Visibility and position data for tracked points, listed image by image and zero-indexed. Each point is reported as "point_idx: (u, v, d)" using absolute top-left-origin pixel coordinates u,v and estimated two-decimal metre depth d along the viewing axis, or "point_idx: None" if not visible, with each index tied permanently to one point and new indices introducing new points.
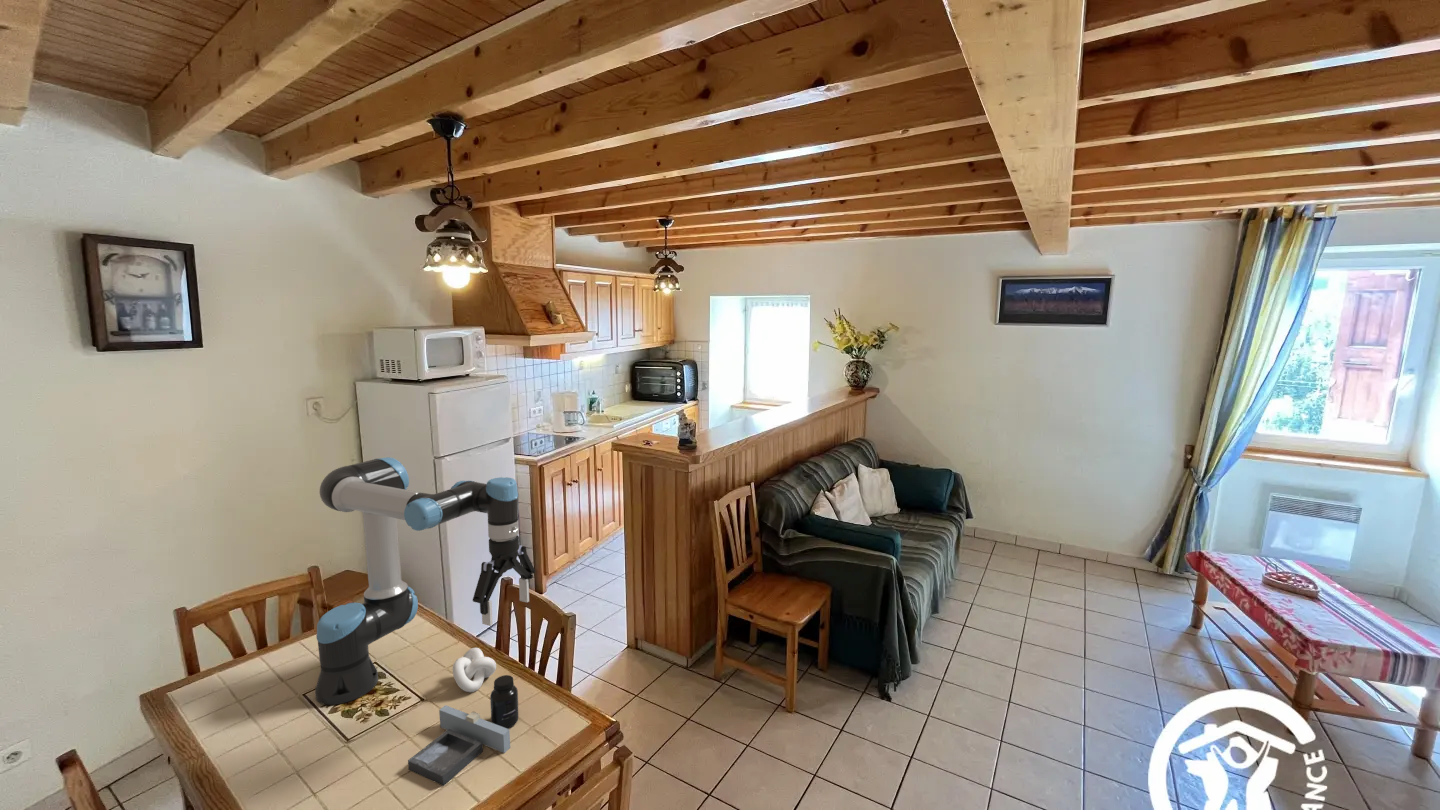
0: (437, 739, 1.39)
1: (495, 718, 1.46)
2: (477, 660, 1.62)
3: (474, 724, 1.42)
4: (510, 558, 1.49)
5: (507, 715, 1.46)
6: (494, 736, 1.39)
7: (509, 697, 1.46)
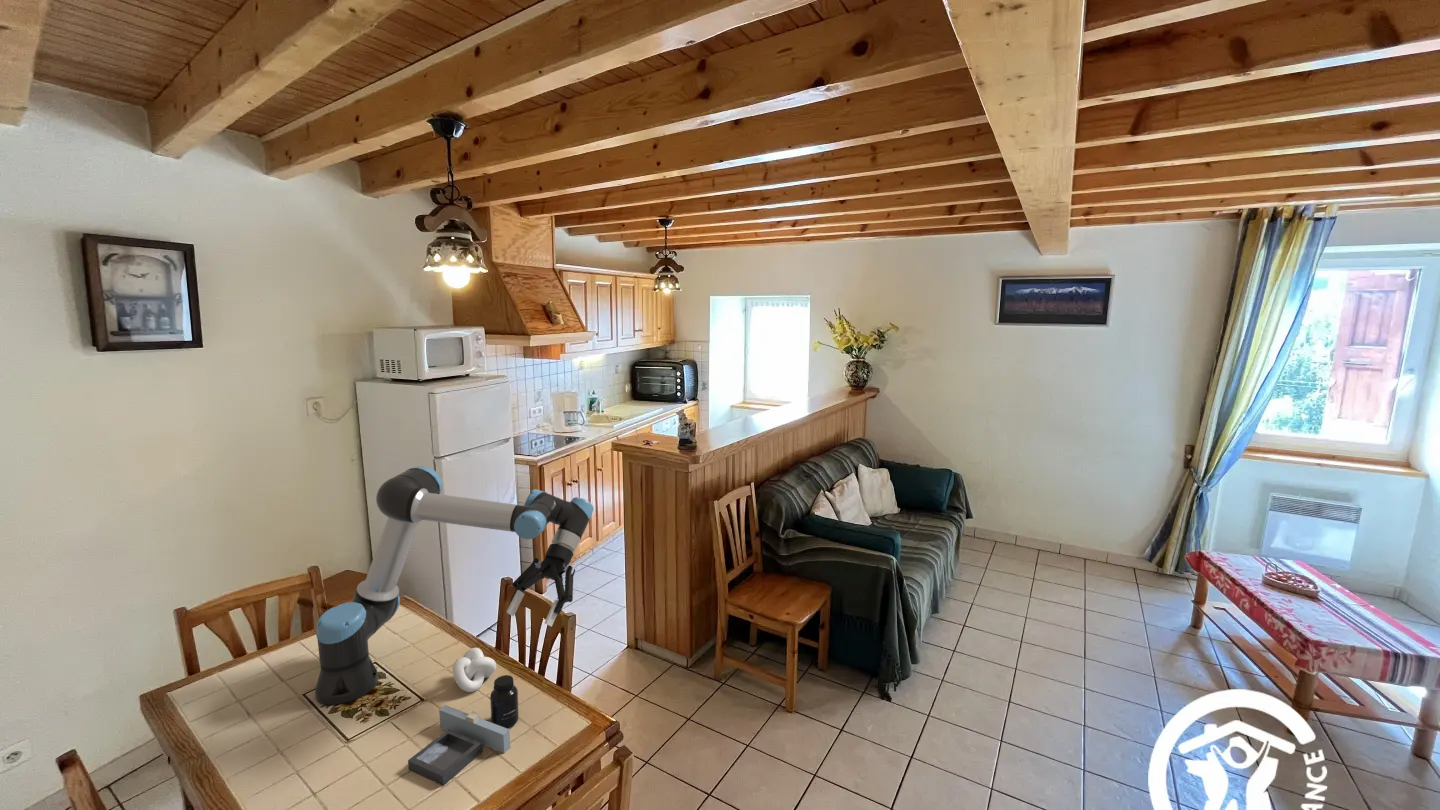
0: (437, 739, 1.39)
1: (495, 718, 1.46)
2: (477, 660, 1.62)
3: (474, 724, 1.42)
4: None
5: (507, 715, 1.46)
6: (494, 736, 1.39)
7: (509, 697, 1.46)
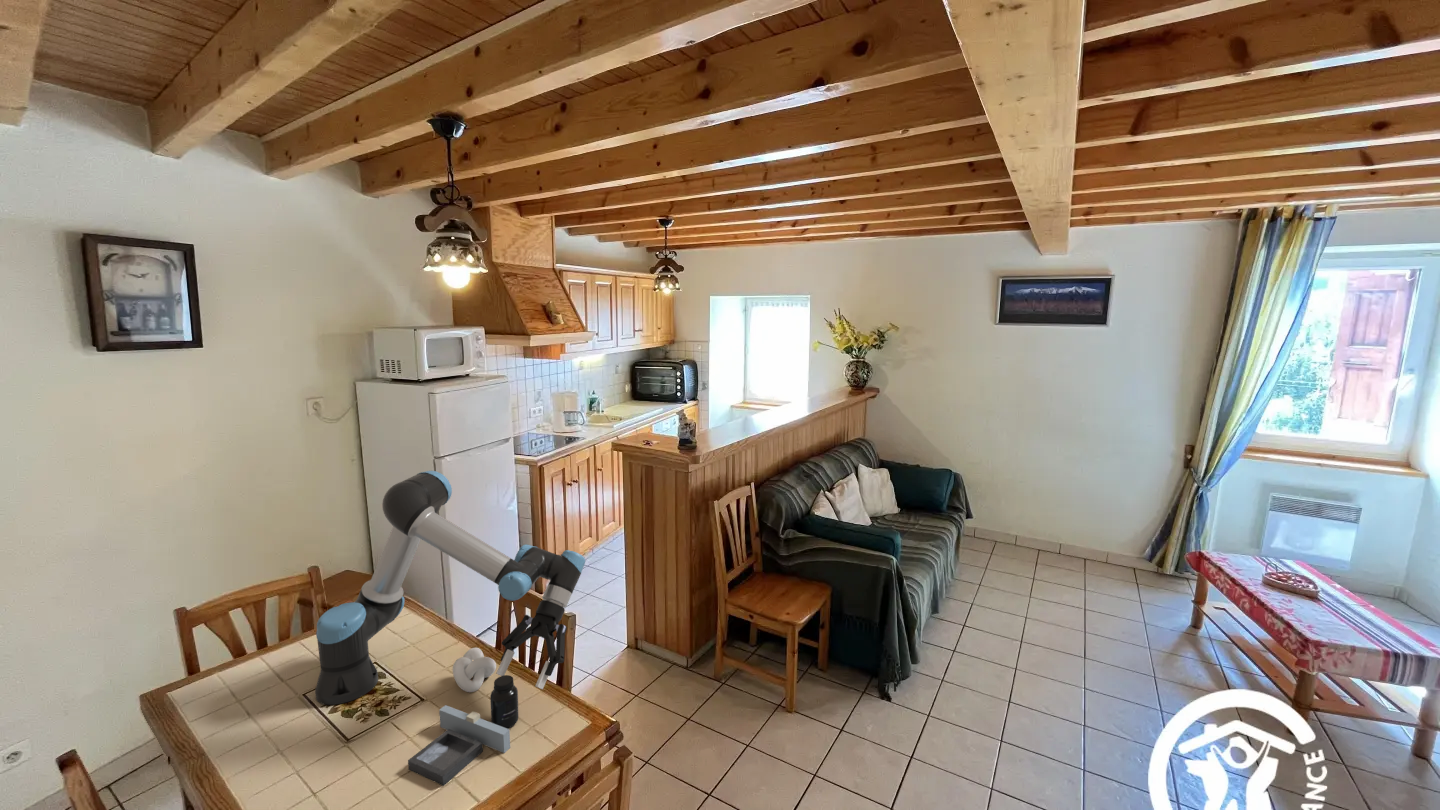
0: (437, 739, 1.39)
1: (495, 718, 1.46)
2: (477, 660, 1.62)
3: (474, 724, 1.42)
4: None
5: (507, 715, 1.46)
6: (494, 736, 1.39)
7: (509, 697, 1.46)
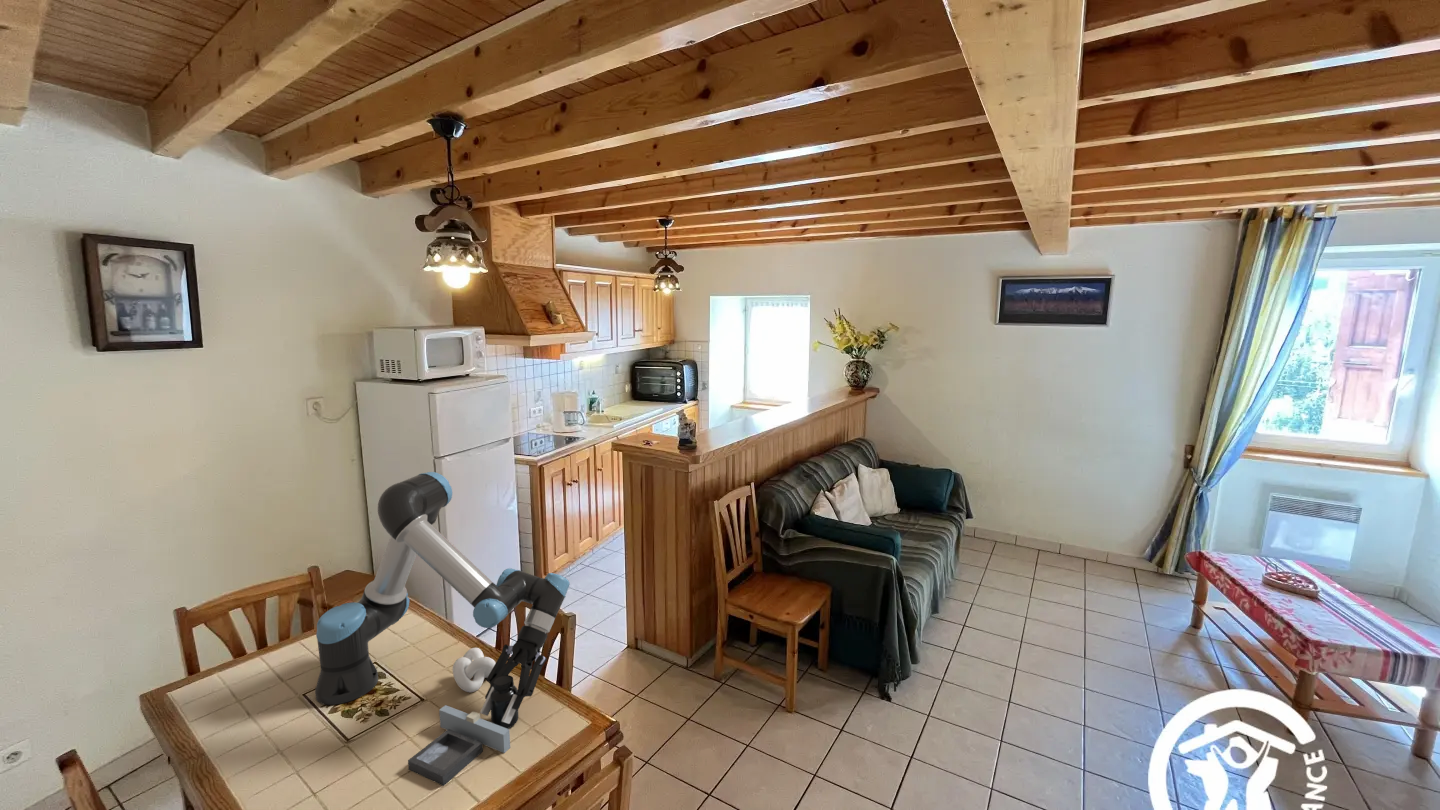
0: (437, 739, 1.39)
1: (495, 718, 1.46)
2: (477, 660, 1.62)
3: (474, 724, 1.42)
4: None
5: None
6: (494, 736, 1.39)
7: (509, 697, 1.46)
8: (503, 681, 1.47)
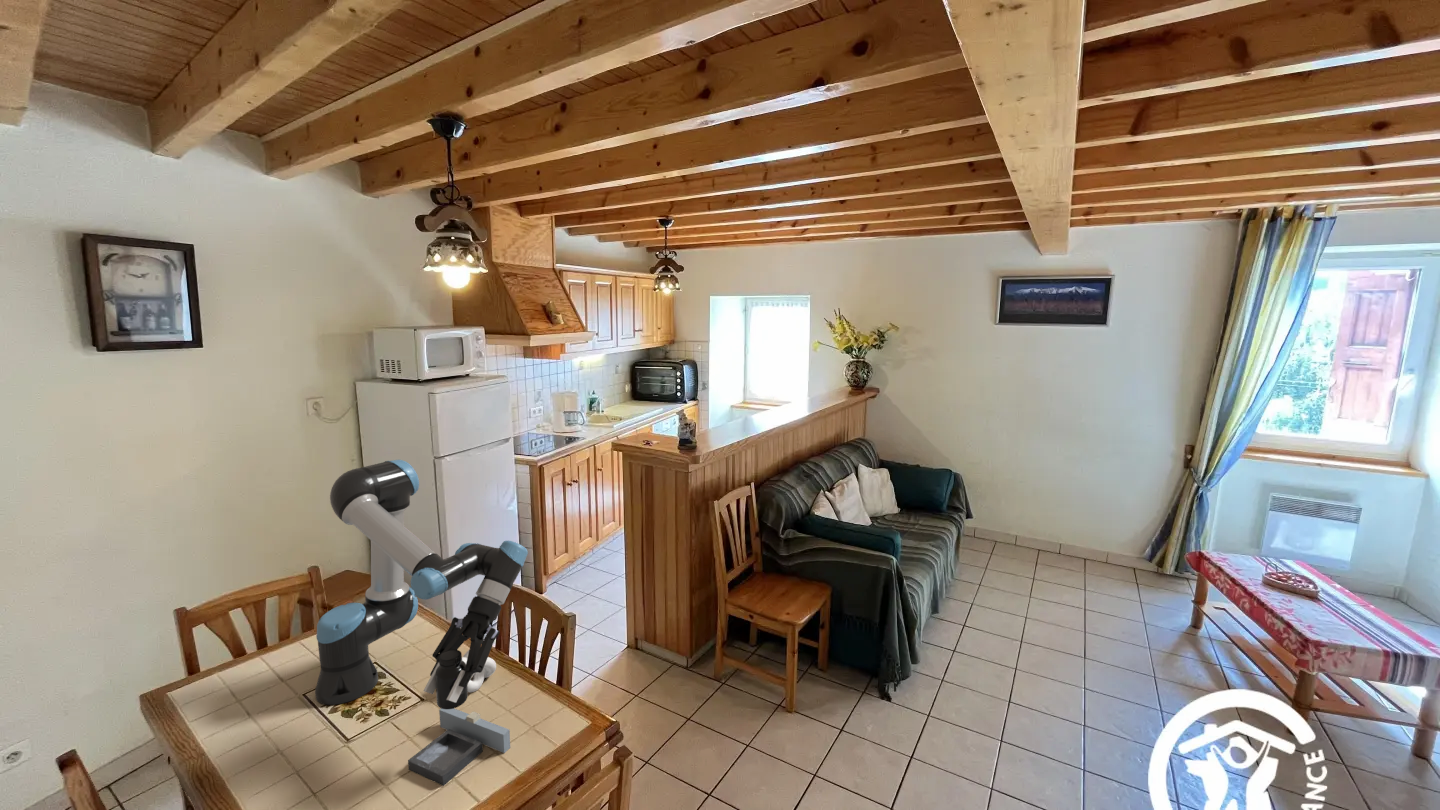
0: (437, 739, 1.39)
1: (441, 696, 1.32)
2: None
3: (474, 724, 1.42)
4: None
5: None
6: (494, 736, 1.39)
7: (456, 673, 1.32)
8: (450, 656, 1.33)
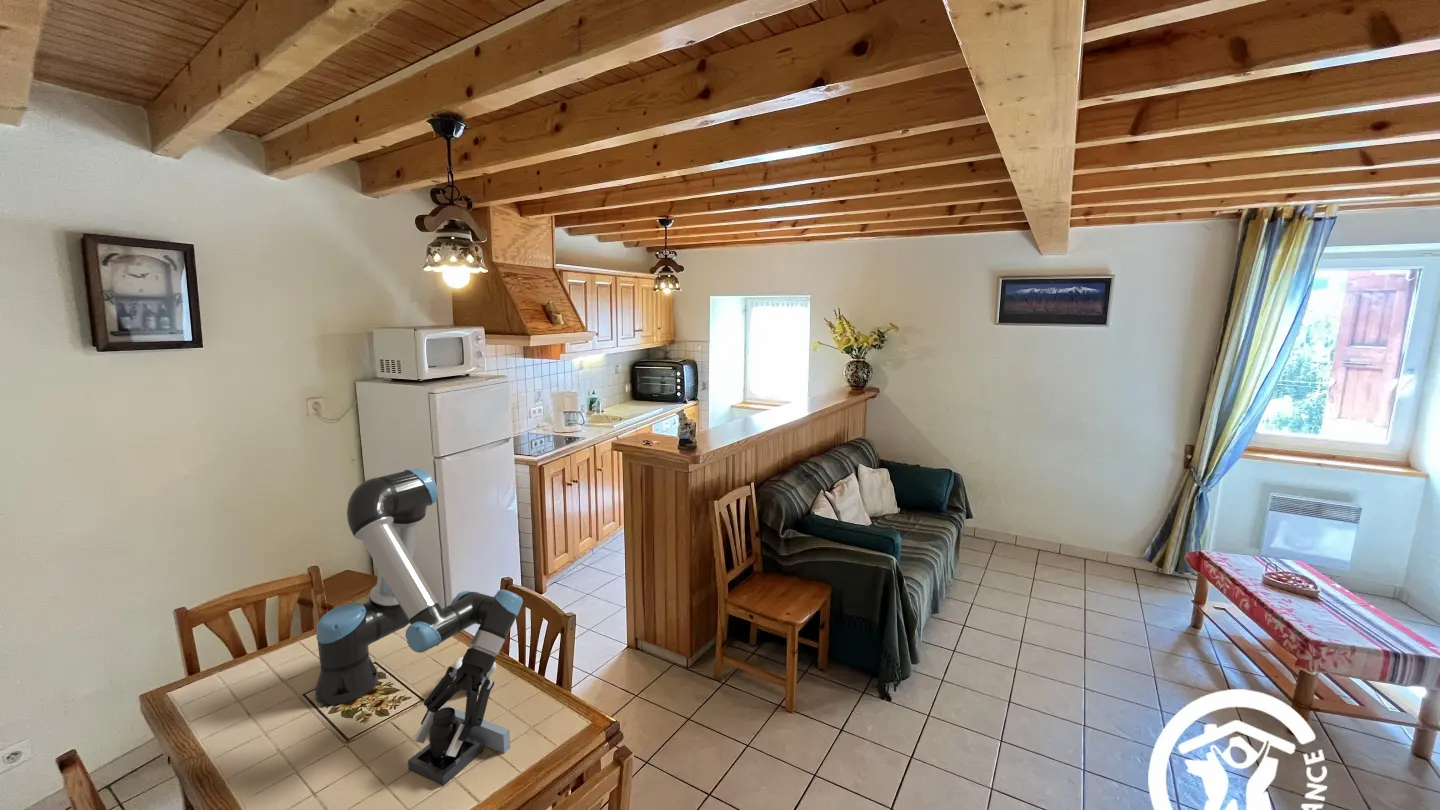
0: None
1: (434, 755, 1.32)
2: None
3: None
4: None
5: None
6: (494, 736, 1.39)
7: (449, 732, 1.33)
8: (443, 714, 1.34)
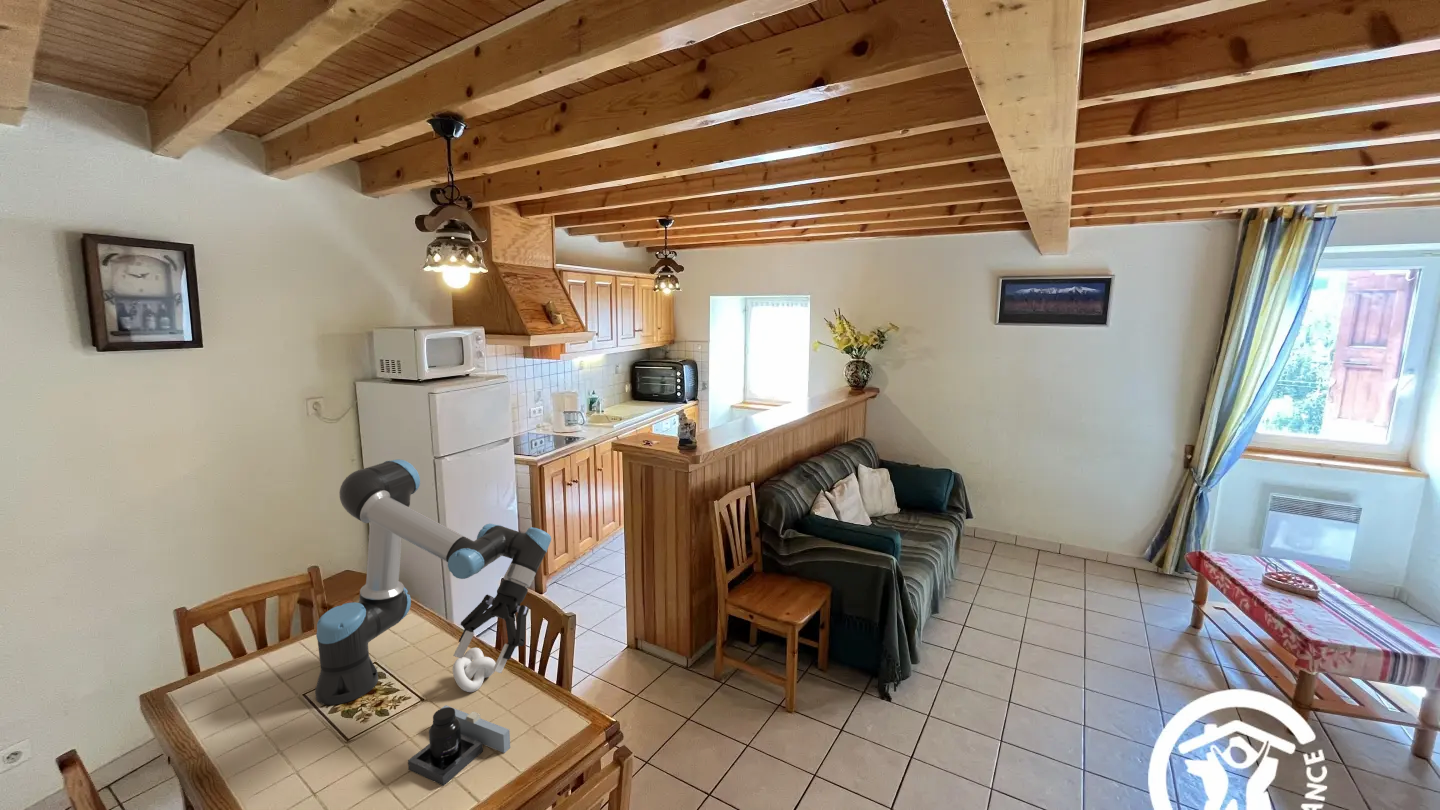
0: None
1: (434, 755, 1.32)
2: (477, 660, 1.62)
3: (474, 724, 1.42)
4: None
5: (447, 752, 1.33)
6: (494, 736, 1.39)
7: (449, 732, 1.33)
8: (443, 714, 1.34)
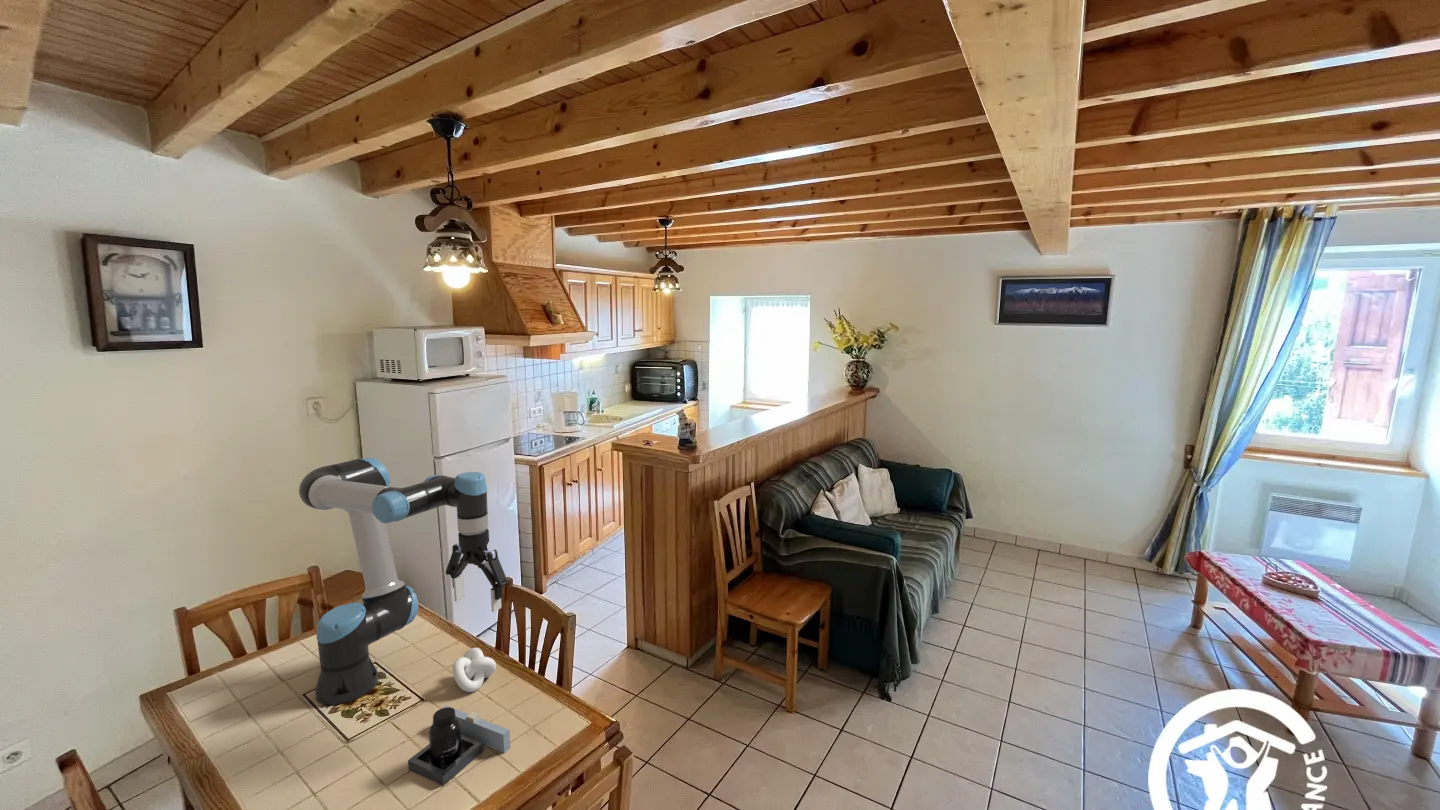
0: None
1: (434, 755, 1.32)
2: (477, 660, 1.62)
3: (474, 724, 1.42)
4: None
5: (447, 752, 1.33)
6: (494, 736, 1.39)
7: (449, 732, 1.33)
8: (443, 714, 1.34)
